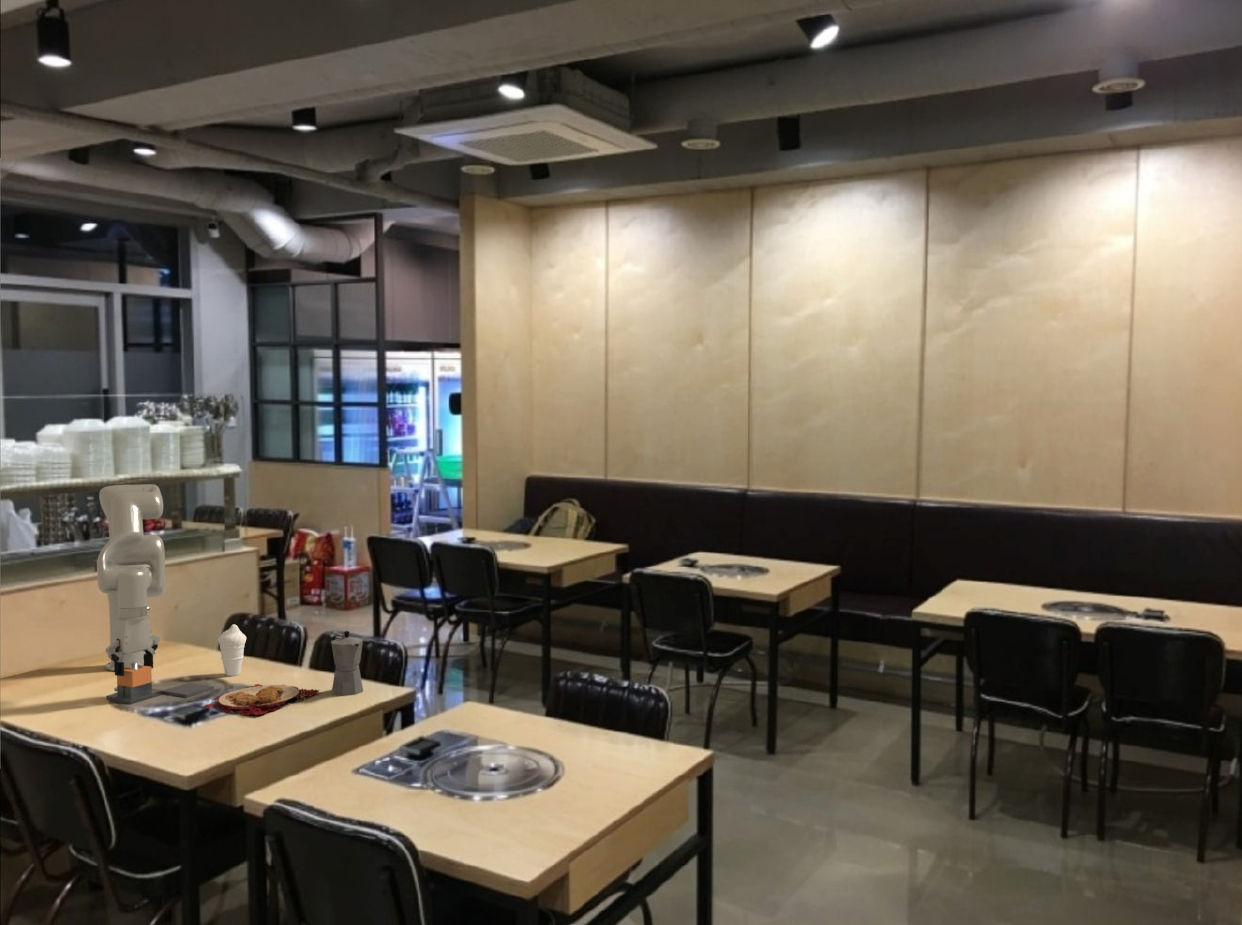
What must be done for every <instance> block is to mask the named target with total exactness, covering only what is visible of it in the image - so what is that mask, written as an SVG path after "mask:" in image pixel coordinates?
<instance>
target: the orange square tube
mask: <svg viewBox="0 0 1242 925" xmlns="http://www.w3.org/2000/svg"><path fill="white" fill-rule="evenodd" d="M152 676H153V675H152V669H151V667H150V666H143V665H138V669H136V670H130V666H128V667H124V676H116V686H117V685H121V686H127V687H136V686H140V685H143V684H147V683H150V682H152V680H153V679H152V678H153V677H152Z"/></svg>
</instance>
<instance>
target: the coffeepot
mask: <svg viewBox="0 0 1242 925" xmlns="http://www.w3.org/2000/svg"><path fill="white" fill-rule="evenodd" d="M343 634H344V637H343V636H340V635H337V634H336V635H333V636H332V637H331V640H330V642H331V649H332V650H331V651H332V655H333V662H334V665H335V670H334V674H333V681H332V686H331V688H332V689H331V692H332V694H333V695H335V696H354V695H358V694H361V693H362V692H364V688H363V687H364V686H363V681H362V677H361V676H362V675H361V671H360V663H361V659H362V649H363V642H364V641H363V639H362V638H360V637H359V638H358V637H351V636H350V631H349V630H345V631H343Z"/></svg>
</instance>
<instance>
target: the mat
mask: <svg viewBox="0 0 1242 925" xmlns="http://www.w3.org/2000/svg"><path fill="white" fill-rule="evenodd" d="M210 689H212V690H215V686H213V685H207V684H202V683H201V684H200V683H193V682H187V683H184V684H181V685H177V686H174V687H171V688H167V689H164V690H163V695H168V696H176V697H181V698H189V697H192V696H196V695H199V694H203V693H205V691H206V692H209V691H211V690H210ZM208 690H209V691H208ZM202 692H203V693H202Z"/></svg>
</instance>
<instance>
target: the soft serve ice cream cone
mask: <svg viewBox="0 0 1242 925" xmlns="http://www.w3.org/2000/svg"><path fill="white" fill-rule="evenodd" d="M217 641H218V645H219V649H220V655H221V656H220V657H221V658H220V659H221V661H222V665H223V669H224V674H225V676H226V677H235V676H238V675H240V674H241V671H242V665H243V659H244V653H245V652H244V651H245V649H244V648H245V644H246V641H247V636H246V635H245V634H244V633H243V632H242V631H241V630H240V628H239V627H238V625H236V624H232V625H231V626H229V628H228V629H226V630H225V631H223V632H222V633H220V635H219V637H218V639H217Z"/></svg>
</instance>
